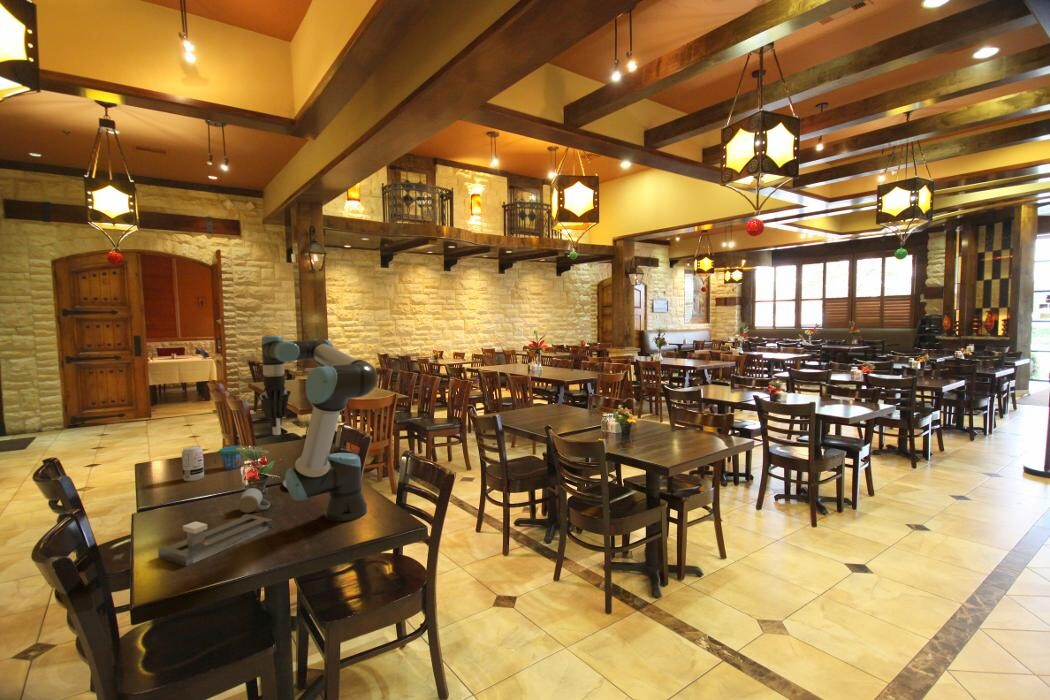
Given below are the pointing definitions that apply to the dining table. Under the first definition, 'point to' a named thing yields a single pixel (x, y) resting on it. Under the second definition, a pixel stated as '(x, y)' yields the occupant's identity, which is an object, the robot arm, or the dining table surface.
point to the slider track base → (216, 540)
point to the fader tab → (195, 533)
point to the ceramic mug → (252, 501)
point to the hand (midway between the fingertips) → (276, 434)
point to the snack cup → (230, 457)
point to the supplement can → (192, 463)
